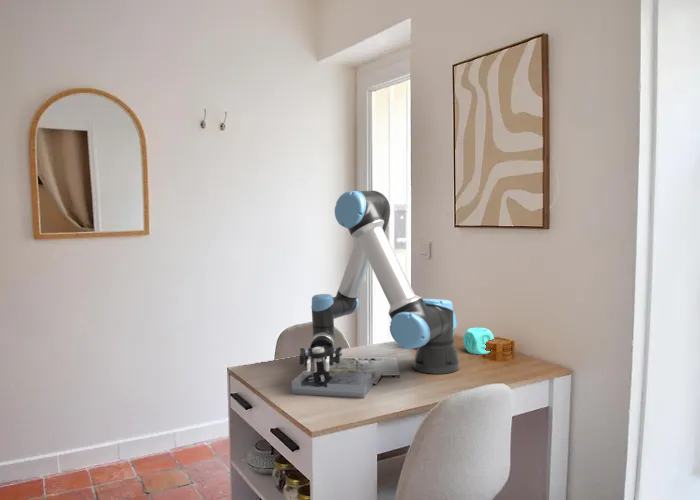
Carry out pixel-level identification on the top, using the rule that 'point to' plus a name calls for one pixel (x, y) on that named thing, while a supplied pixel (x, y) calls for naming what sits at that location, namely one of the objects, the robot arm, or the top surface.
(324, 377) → the push button
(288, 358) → the top surface
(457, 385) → the top surface
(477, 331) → the decorative dice
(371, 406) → the top surface
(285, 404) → the top surface
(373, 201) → the robot arm
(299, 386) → the grey recessed block
